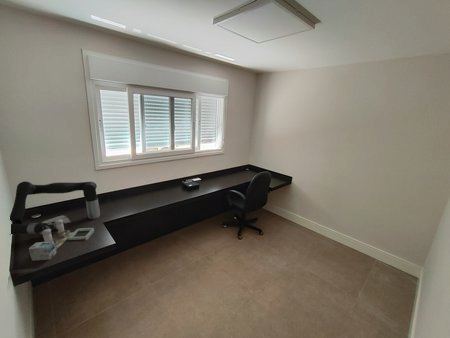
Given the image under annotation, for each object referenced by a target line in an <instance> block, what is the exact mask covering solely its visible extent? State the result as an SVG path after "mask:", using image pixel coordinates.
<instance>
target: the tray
mask: <svg viewBox="0 0 450 338" xmlns="http://www.w3.org/2000/svg"><path fill="white" fill-rule="evenodd" d="M73 232H74V233H73V234H71V235H70V236H69V237H68V239H67V240H68V241H73V240H74V241H76V240H84V241H85V242H87V241H88V240H89V239H90V238H91V236H92V235H93V234H94V233H95V227H84V228H77V229H76V230H74V231H73ZM78 232H88V233H87V234H86V235H85V236H83V235H82V236H76V234H77V233H78Z"/></svg>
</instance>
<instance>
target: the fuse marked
mask: <svg viewBox="0 0 450 338" xmlns="http://www.w3.org/2000/svg"><path fill="white" fill-rule="evenodd" d="M55 225H56V228H55V229H58V232H56V233H58V235H64V234H65V230H66V229H65V226H63V220H62V219H59V220H56V221H55Z"/></svg>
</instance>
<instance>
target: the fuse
mask: <svg viewBox="0 0 450 338" xmlns="http://www.w3.org/2000/svg"><path fill="white" fill-rule="evenodd" d="M41 236H42V237H43V242H50V241H53V239H52V237H53V235H52V233H51V229H46V230H43V231H42V235H41Z"/></svg>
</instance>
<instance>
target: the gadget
mask: <svg viewBox="0 0 450 338" xmlns="http://www.w3.org/2000/svg"><path fill="white" fill-rule="evenodd" d="M59 219H62V220H63V223H65V224H67V223H72V221H71V220H70V219H69V218H68V217H67V216H66V215H60V216H55V217H53V218H50V219H46V220H43V221H41V223H47V224H51V223H52V222H54V221H56V220H59ZM54 227H55V225H54Z"/></svg>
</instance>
